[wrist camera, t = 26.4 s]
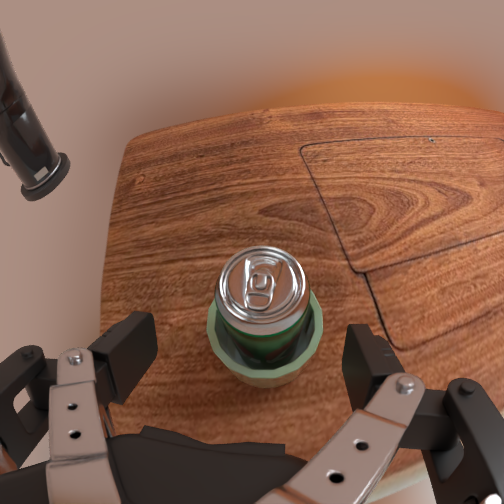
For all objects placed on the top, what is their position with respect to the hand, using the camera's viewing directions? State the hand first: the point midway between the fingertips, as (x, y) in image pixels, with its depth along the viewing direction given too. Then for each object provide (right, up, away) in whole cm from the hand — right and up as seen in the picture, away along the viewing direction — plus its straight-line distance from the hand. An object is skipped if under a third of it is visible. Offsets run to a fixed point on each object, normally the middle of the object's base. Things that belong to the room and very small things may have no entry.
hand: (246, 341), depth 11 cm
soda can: (+2, -4, +13) cm, 14 cm away
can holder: (+2, -5, +14) cm, 15 cm away
